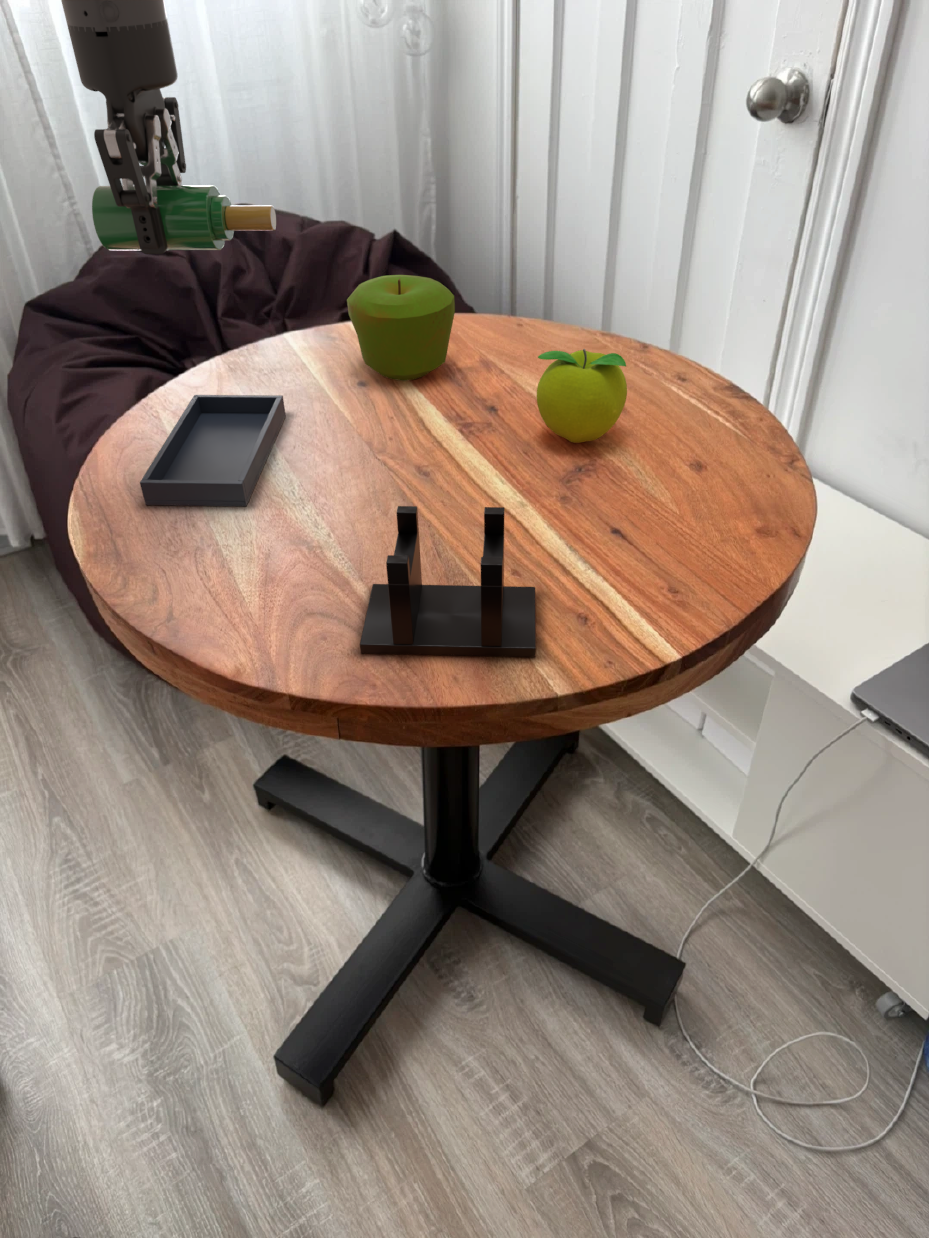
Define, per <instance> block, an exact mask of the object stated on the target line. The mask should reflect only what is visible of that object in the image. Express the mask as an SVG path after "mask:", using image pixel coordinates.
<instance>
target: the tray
mask: <svg viewBox="0 0 929 1238" xmlns="http://www.w3.org/2000/svg"><path fill="white" fill-rule="evenodd" d="M286 417H287V413H286V408H285V402H284V396H283V395H281V394H280V395H279V394H278V395H277V394H276V395H275V394H274V395H272V394H271V395H270V394H268V395H267V394H266V395H265V394H193V396H192V397H191V399H190V401H189V403H188V404H187V405H186V407H185V409H184V410H183V412H182V413H181V415H180V417H179V419H178V420H177V422H176V423H175V425H174V427H173V428H172V430H171V431H170V433H169V435H168V436H167V438H166V440H165V441H164V443H163V444H162V446H161V447H160V449H159V450H158V452H157V454H156V455H155V457H154V459H153V460H152V462H151V464H150V465H149V466H148V468H147V470H146V471H145V473H144V475H143V476H142V477H141V480H140V481H139V485H140V489H141V493H142V496H143V500H144V503H145V506H188V507H189V506H190V507H192V506H194V507H195V506H197V507H198V506H200V507H247V506H248V504H249V502H250V500H251V498H252V495H253V493H254V490H255V487H256V485H257V483H258V481H259V479H260V476H261V475H262V472H263V470H264V467H265V465H266V463H267V460H268V458H269V456H270V454H271V451H272V449H273V447H274V444H275V442H276V440H277V437H278V436H279V433H280V431H281V428H282V426H283V424H284V421H285V419H286Z"/></svg>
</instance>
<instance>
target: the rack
mask: <svg viewBox="0 0 929 1238" xmlns="http://www.w3.org/2000/svg"><path fill="white" fill-rule="evenodd" d="M505 509H506V508H505V507H503V506H501V507H500V506H484V511H483V533H484V534H483V547H482V548H483V549H482V556H481V557H480V585H462V584H461V585H460V584H459V585H458V584H457V585H456V584H454V585H452V584H423V578H422V563H421V562H422V561H421V543H420V527H419V511H418V506H416V505H415V506H414V505H397V508H396V525H397V527H396V528H397V536H396V541H395V547H394V553H393V554H388V555H387V556H386V562H385V564H386V565H385V566H386V577H387V583H372V585H371V590H370V595H369V598H368V599H369V600H368V604H367V609H366V614H365V618H364V622H363V628H362V631H361V637H360V641H359V651H360V654H369V655H370V654H372V655H373V654H376V655H415V656H424V655H425V656H459V657H460V656H463V657H503V658H504V657H507V658H509V657H510V658H536V653H537V652H536V651H537V636H536V635H537V628H536V627H537V626H536V625H537V624H536V623H537V621H536V620H537V618H536V614H537V613H536V610H537V609H536V587H535V586H518V585H517V586H514V585H513V586H511V585H505V512H506V511H505Z"/></svg>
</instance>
